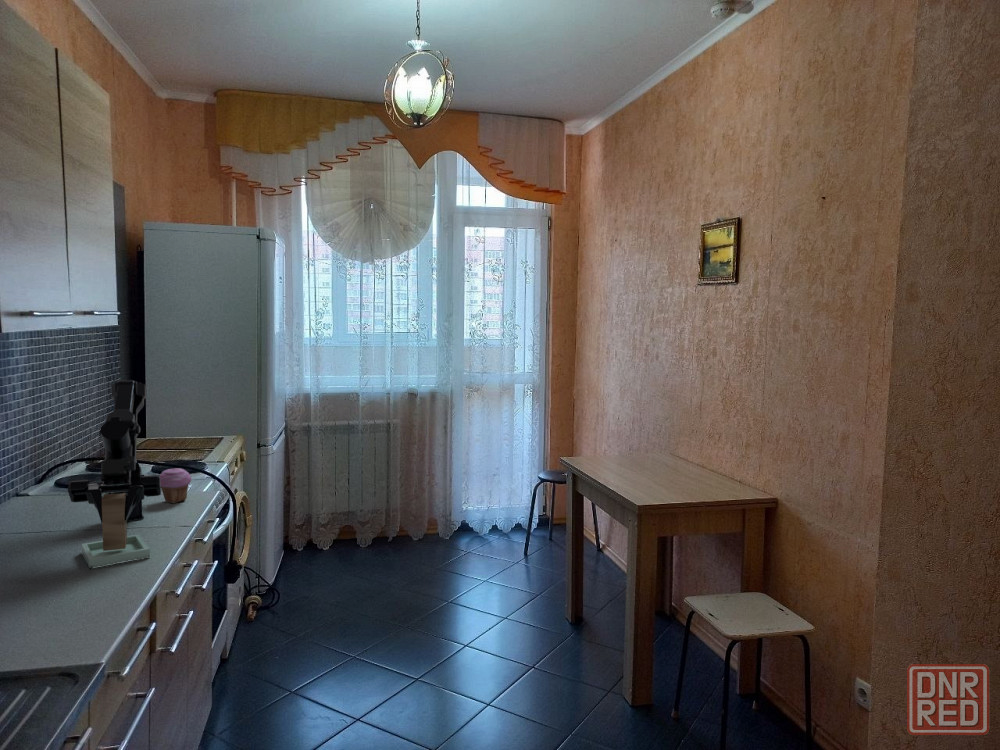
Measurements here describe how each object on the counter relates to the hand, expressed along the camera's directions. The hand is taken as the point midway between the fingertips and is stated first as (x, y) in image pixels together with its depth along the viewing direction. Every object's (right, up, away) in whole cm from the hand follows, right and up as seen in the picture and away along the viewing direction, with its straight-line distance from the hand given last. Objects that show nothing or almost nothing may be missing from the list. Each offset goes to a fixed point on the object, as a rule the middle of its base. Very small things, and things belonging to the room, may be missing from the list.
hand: (113, 520), depth 152 cm
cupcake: (-8, -4, +45) cm, 46 cm away
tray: (-1, -9, +2) cm, 9 cm away
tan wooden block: (-1, -6, +2) cm, 7 cm away
